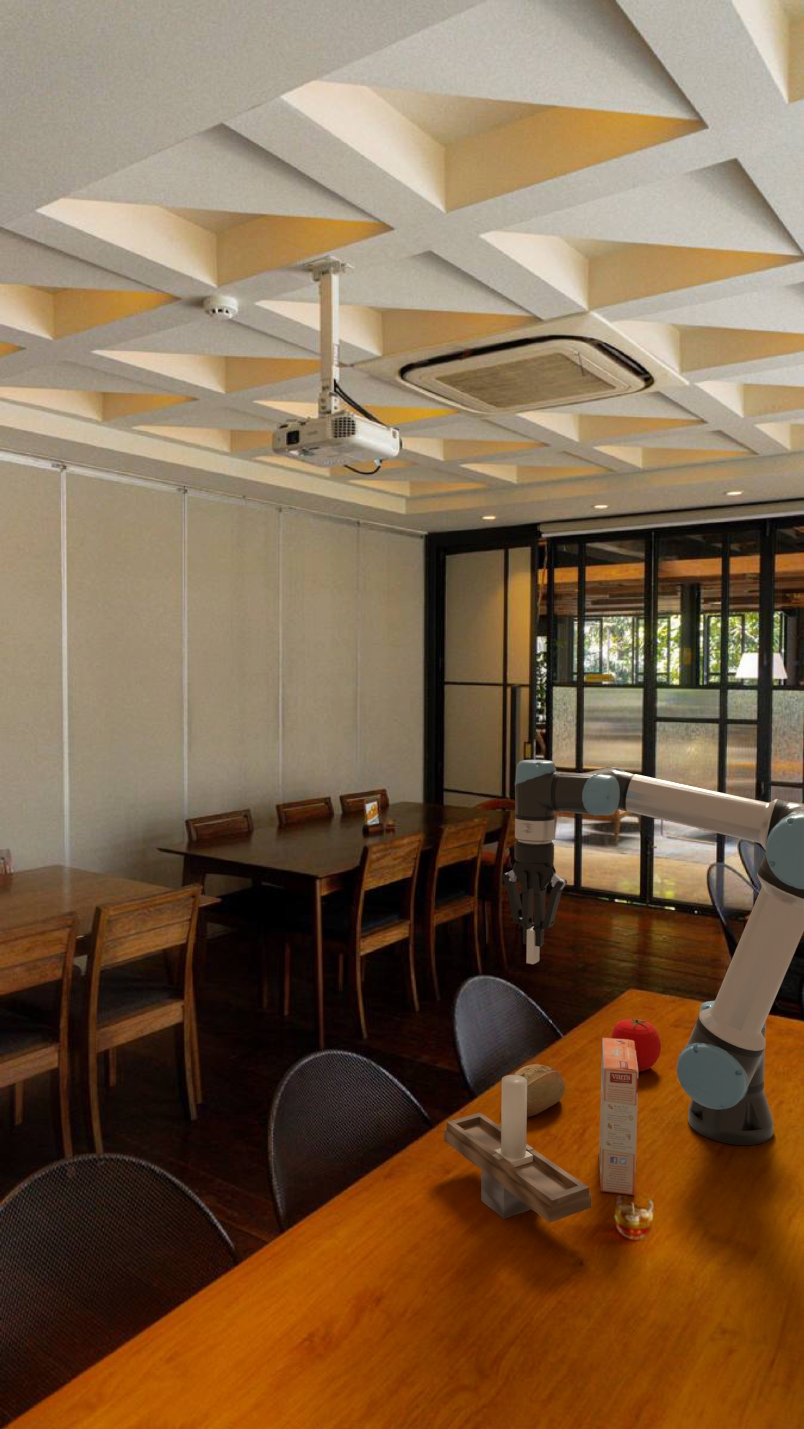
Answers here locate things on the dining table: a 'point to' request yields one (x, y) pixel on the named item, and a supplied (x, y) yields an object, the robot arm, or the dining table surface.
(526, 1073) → the bread roll
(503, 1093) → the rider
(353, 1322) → the dining table surface
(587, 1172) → the dining table surface
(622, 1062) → the cracker box
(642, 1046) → the tomato
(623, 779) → the robot arm
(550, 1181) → the beam
